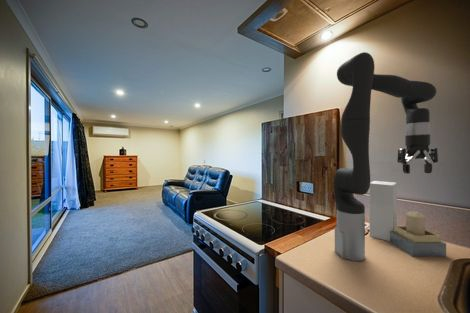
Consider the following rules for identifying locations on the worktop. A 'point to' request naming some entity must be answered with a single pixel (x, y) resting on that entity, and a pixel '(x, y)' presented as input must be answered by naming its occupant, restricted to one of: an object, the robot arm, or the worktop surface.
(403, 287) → the worktop surface
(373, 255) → the worktop surface
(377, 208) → the tall white carton
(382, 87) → the robot arm
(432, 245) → the grey open box
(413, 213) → the candle
